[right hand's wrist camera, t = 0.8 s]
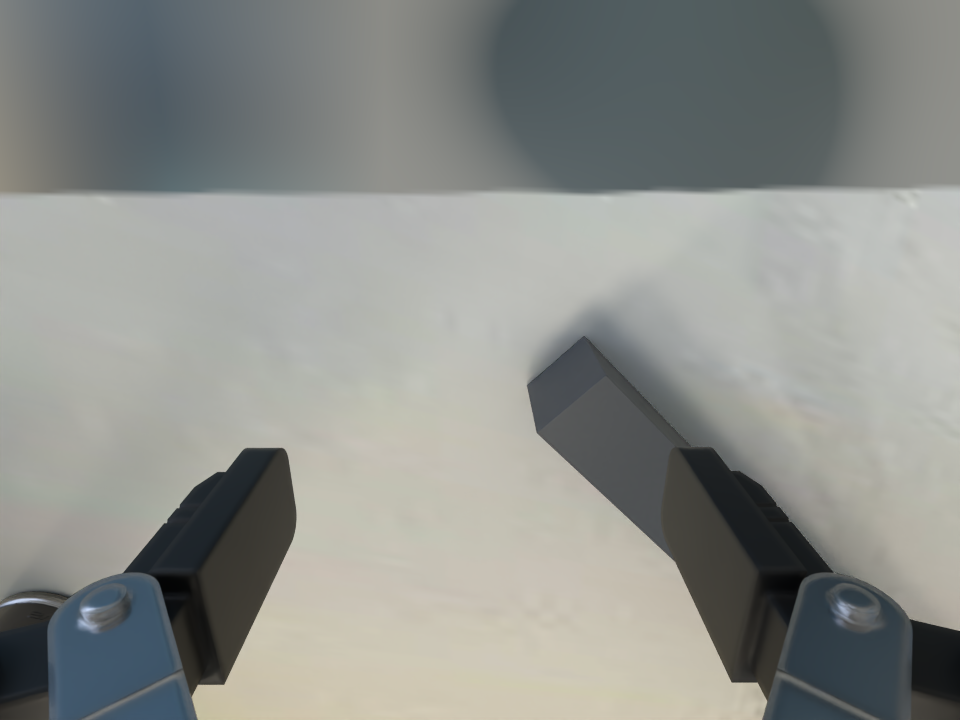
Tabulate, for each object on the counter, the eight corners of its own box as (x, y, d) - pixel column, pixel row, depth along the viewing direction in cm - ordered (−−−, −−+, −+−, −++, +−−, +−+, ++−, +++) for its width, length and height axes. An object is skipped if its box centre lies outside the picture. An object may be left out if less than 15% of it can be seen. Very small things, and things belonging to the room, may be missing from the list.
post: (526, 385, 35) (536, 433, 29) (584, 335, 34) (606, 374, 28) (1029, 867, 55) (1094, 952, 49) (1077, 847, 53) (1150, 932, 48)
